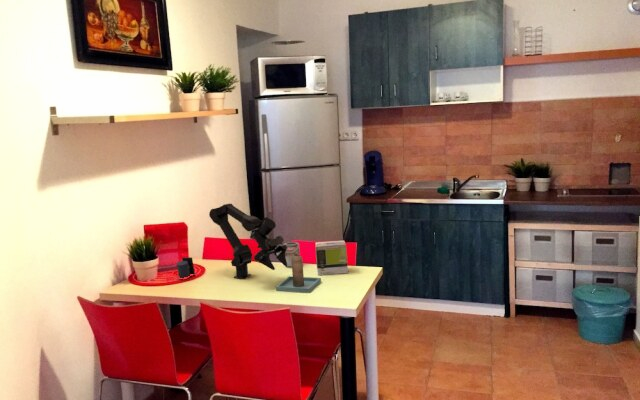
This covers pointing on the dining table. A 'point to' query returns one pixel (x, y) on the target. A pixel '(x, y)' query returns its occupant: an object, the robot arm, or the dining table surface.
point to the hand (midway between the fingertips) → (280, 267)
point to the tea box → (331, 257)
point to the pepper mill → (297, 271)
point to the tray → (307, 288)
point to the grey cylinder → (291, 252)
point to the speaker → (185, 267)
